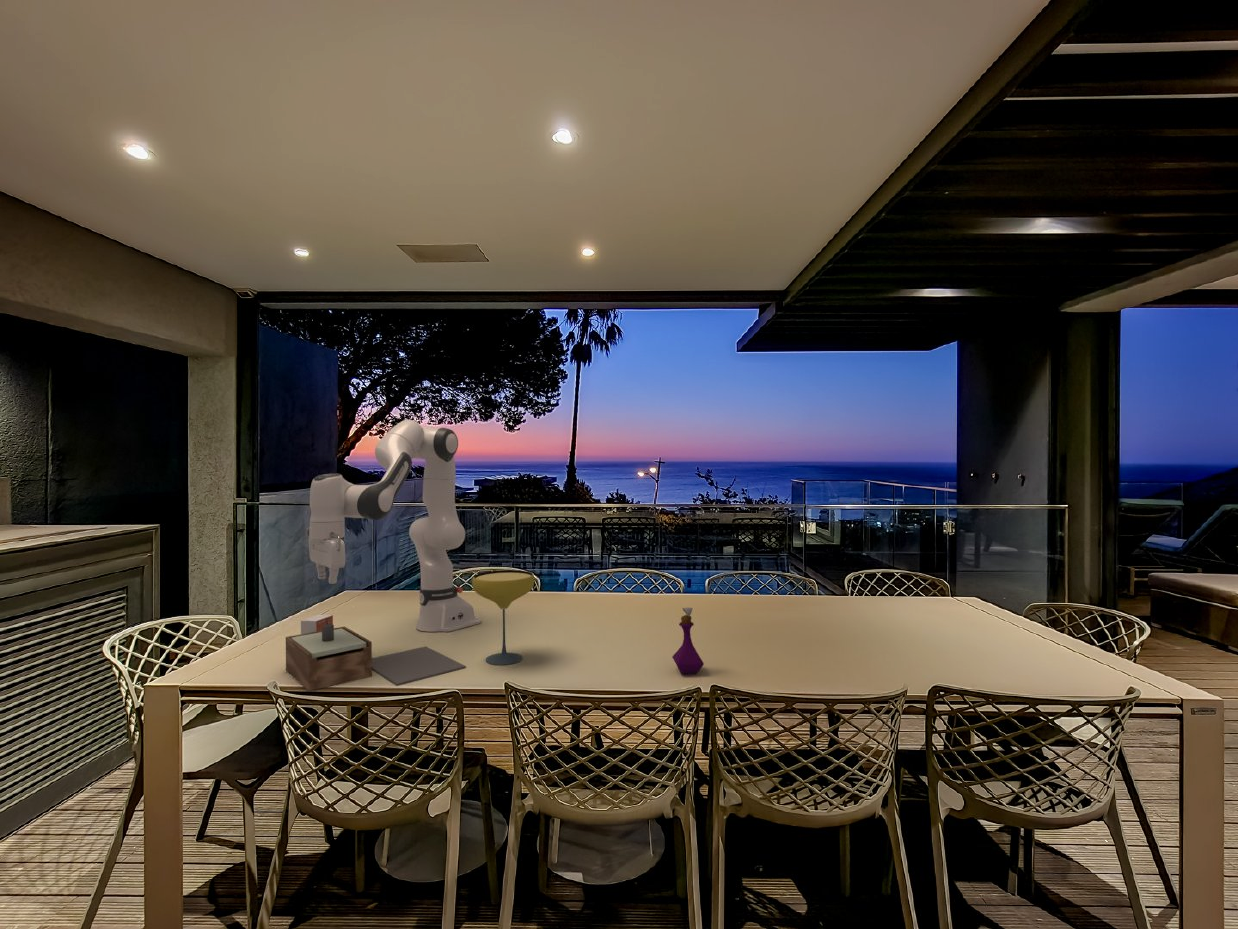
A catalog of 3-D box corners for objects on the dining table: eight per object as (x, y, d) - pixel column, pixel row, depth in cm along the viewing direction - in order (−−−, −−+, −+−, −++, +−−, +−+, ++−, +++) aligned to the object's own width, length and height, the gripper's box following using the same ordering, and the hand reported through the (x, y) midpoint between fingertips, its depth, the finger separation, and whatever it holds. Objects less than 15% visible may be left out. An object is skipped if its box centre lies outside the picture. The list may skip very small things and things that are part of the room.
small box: (316, 655, 184) (316, 621, 184) (300, 654, 185) (300, 620, 185) (333, 647, 192) (333, 614, 192) (318, 646, 193) (318, 614, 193)
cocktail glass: (485, 674, 166) (484, 583, 166) (464, 656, 181) (464, 573, 181) (544, 662, 176) (544, 576, 176) (520, 646, 191) (520, 568, 191)
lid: (341, 632, 180) (341, 615, 180) (366, 647, 165) (366, 628, 165) (290, 641, 171) (290, 623, 171) (311, 658, 156) (311, 638, 156)
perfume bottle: (672, 668, 170) (671, 604, 170) (698, 667, 170) (697, 603, 170) (676, 677, 162) (676, 610, 162) (704, 676, 163) (703, 609, 163)
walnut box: (344, 657, 181) (344, 626, 181) (371, 676, 165) (371, 641, 165) (285, 670, 171) (285, 637, 171) (308, 691, 154) (308, 654, 154)
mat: (425, 647, 190) (425, 646, 190) (465, 667, 171) (465, 666, 171) (361, 662, 177) (361, 660, 177) (396, 685, 158) (396, 683, 158)
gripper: (351, 533, 163) (351, 584, 162) (328, 528, 178) (327, 575, 177) (327, 535, 158) (326, 587, 158) (304, 529, 173) (304, 577, 173)
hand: (327, 581), depth 168 cm, fingers open, 8 cm apart
